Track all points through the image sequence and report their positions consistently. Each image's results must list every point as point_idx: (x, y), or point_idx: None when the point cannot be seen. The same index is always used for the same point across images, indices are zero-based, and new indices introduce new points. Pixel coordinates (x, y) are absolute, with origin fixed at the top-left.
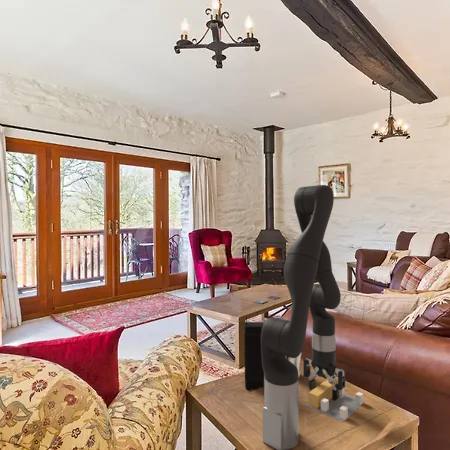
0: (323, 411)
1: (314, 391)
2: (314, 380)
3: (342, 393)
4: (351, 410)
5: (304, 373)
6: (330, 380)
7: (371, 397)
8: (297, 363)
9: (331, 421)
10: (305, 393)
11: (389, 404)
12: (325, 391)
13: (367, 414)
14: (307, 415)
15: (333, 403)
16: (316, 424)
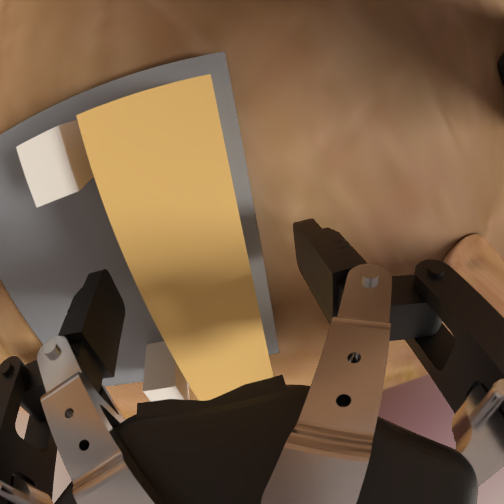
0: (66, 121)
1: (183, 157)
2: (329, 312)
3: (147, 368)
4: (21, 293)
5: (453, 281)
6: (50, 406)
7: None
8: None
9: (6, 119)
10: (348, 213)
11: None
12: (138, 277)
13: (14, 332)
14: (138, 9)
15: (115, 264)
16: (37, 10)
